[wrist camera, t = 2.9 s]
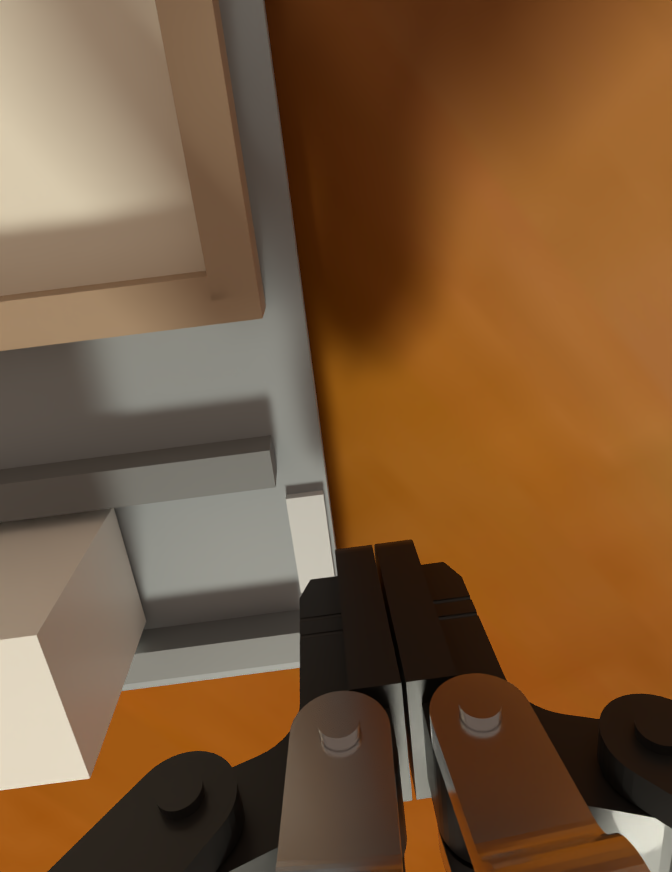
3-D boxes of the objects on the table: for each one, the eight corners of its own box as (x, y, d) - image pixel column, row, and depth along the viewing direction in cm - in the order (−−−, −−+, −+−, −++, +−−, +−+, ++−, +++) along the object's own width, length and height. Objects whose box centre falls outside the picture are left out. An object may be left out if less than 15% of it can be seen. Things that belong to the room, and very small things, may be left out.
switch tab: (113, 506, 13) (35, 634, 9) (146, 621, 14) (89, 778, 10) (-30, 523, 13) (-166, 661, 9) (14, 638, 14) (-90, 802, 10)
